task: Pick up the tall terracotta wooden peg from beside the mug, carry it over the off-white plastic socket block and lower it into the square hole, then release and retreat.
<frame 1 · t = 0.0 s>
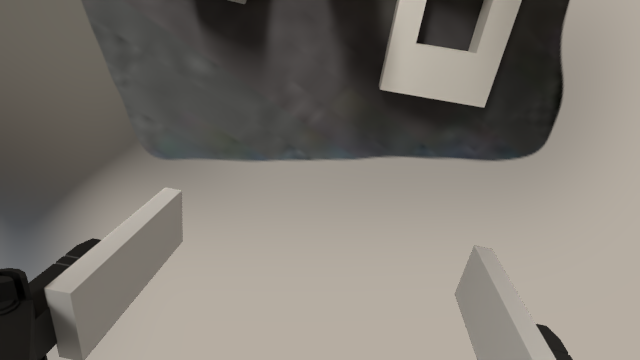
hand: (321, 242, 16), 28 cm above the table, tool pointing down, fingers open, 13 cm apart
socket block: (448, 16, 36), on the table
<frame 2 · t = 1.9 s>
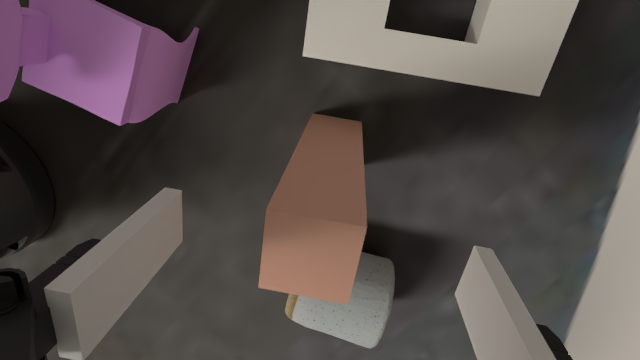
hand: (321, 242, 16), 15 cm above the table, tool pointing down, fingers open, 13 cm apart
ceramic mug: (339, 273, 35), on the table
toy chair: (143, 44, 28), on the table
peg: (333, 140, 29), on the table
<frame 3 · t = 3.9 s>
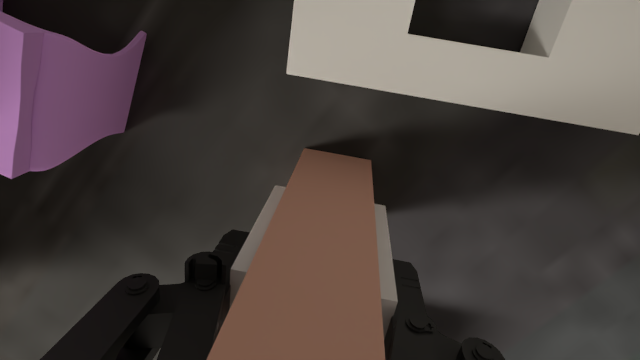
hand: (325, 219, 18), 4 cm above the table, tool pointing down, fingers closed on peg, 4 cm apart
toy chair: (73, 54, 20), on the table
peg: (332, 184, 22), on the table, touching gripper
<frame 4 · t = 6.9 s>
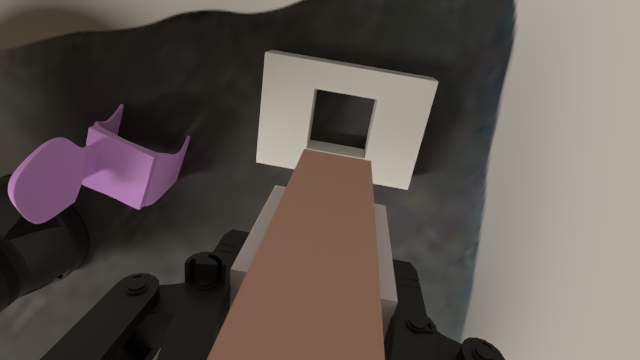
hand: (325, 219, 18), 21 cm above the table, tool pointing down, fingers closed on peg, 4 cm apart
socket block: (341, 117, 37), on the table
toy chair: (153, 144, 41), on the table
peg: (331, 184, 22), point 17 cm above the table, touching gripper
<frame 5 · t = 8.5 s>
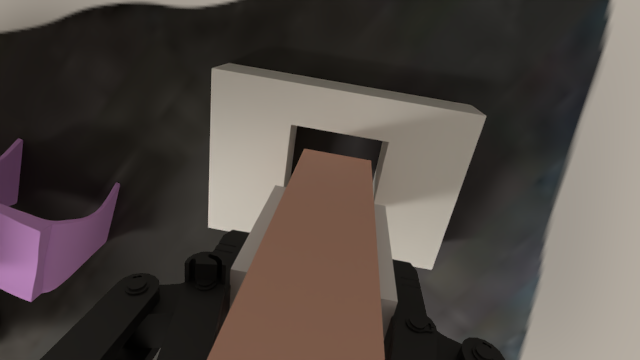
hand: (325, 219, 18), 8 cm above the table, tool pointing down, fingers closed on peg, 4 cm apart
socket block: (334, 161, 25), on the table
toy chair: (70, 192, 29), on the table
peg: (331, 184, 22), point 4 cm above the table, touching gripper
when the fingers open (5 cm above the table, at t = 10.0 s): peg stays where it is, resting in socket block.
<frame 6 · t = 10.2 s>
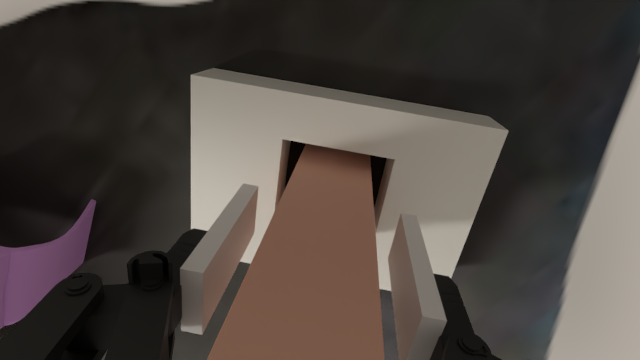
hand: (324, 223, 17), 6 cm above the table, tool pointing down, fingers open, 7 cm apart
socket block: (333, 177, 22), on the table
toy chair: (42, 209, 26), on the table
peg: (332, 178, 22), resting in socket block
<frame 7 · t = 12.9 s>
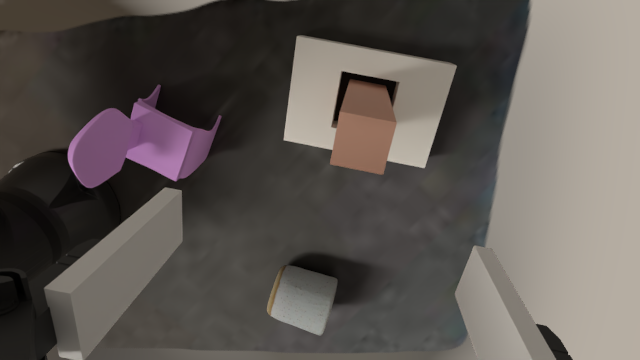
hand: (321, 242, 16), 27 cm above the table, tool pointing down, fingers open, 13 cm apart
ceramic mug: (306, 286, 52), on the table
socket block: (364, 99, 40), on the table
toy chair: (185, 123, 44), on the table
peg: (363, 100, 40), resting in socket block
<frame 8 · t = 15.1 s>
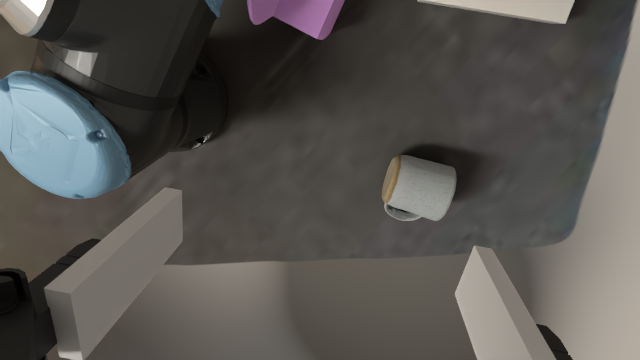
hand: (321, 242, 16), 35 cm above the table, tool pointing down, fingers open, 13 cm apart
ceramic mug: (411, 183, 52), on the table
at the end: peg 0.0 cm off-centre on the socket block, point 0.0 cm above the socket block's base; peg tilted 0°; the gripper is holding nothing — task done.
